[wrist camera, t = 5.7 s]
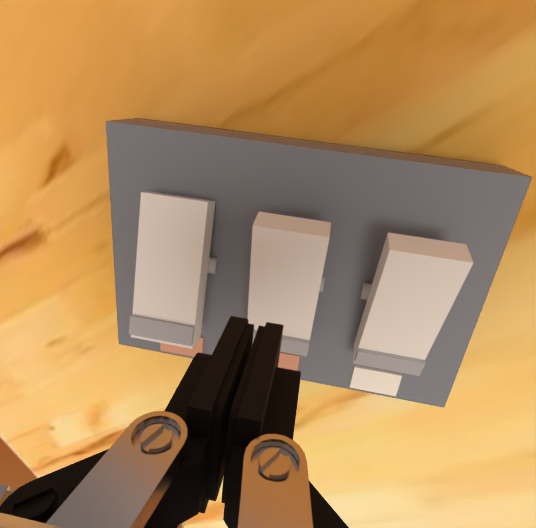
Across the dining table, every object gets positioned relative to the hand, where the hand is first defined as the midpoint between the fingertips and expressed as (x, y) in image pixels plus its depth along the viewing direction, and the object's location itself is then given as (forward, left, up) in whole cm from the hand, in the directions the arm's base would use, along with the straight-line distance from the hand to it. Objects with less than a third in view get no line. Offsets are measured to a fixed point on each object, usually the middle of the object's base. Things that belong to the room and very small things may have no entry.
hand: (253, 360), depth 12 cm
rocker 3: (+3, +7, -11) cm, 13 cm away
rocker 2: (+3, 0, -11) cm, 11 cm away
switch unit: (+3, 0, -17) cm, 17 cm away
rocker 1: (+3, -7, -11) cm, 13 cm away
